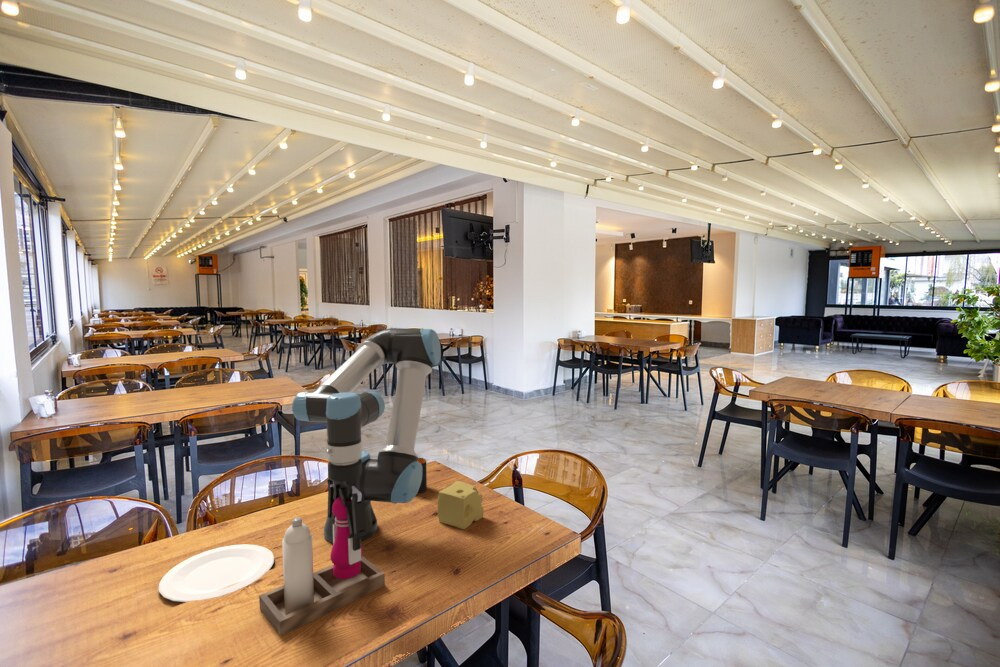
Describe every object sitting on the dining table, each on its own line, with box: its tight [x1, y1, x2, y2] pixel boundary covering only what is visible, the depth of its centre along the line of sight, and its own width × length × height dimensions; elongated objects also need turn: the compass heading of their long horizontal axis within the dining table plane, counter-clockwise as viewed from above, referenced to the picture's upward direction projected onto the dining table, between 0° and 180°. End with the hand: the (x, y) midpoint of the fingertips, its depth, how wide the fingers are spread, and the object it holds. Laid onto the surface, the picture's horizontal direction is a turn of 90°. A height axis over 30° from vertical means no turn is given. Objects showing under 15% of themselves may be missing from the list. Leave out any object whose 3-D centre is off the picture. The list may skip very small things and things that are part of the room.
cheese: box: [437, 480, 485, 530], centre depth 149 cm, size 10×11×10 cm
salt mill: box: [281, 517, 314, 615], centre depth 104 cm, size 6×6×20 cm
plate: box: [158, 543, 275, 603], centre depth 120 cm, size 25×25×2 cm
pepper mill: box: [330, 497, 364, 579], centre depth 112 cm, size 7×7×20 cm
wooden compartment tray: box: [258, 555, 386, 637], centre depth 109 cm, size 24×12×4 cm, turn 135°
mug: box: [416, 457, 428, 495], centre depth 170 cm, size 8×12×10 cm
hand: (346, 555), depth 112 cm, fingers closed on pepper mill, 7 cm apart
